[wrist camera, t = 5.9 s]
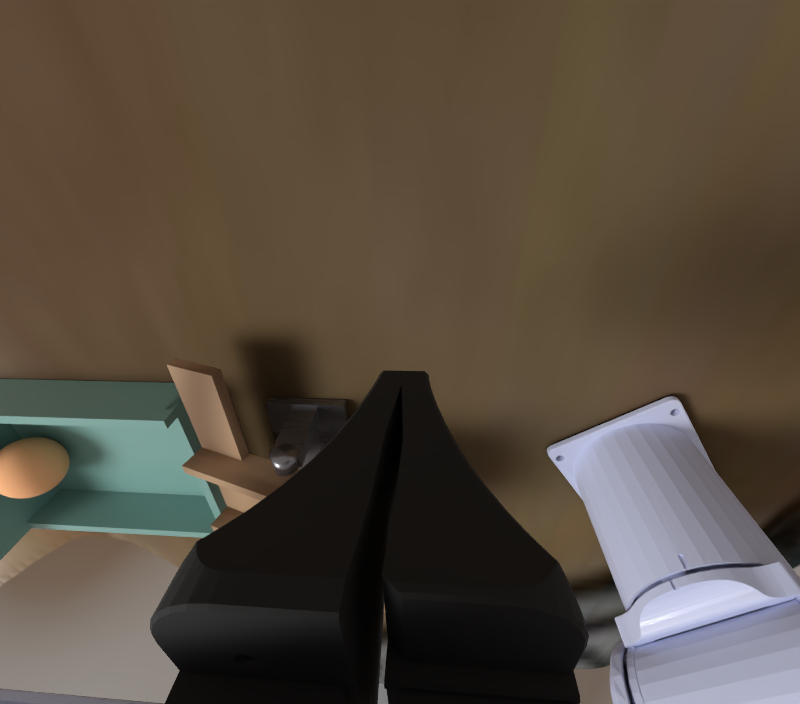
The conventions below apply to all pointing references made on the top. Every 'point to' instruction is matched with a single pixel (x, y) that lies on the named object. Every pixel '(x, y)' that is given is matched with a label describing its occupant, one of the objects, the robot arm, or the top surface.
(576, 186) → the top surface
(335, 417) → the launcher stand
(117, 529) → the tray
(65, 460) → the ball
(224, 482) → the chute
